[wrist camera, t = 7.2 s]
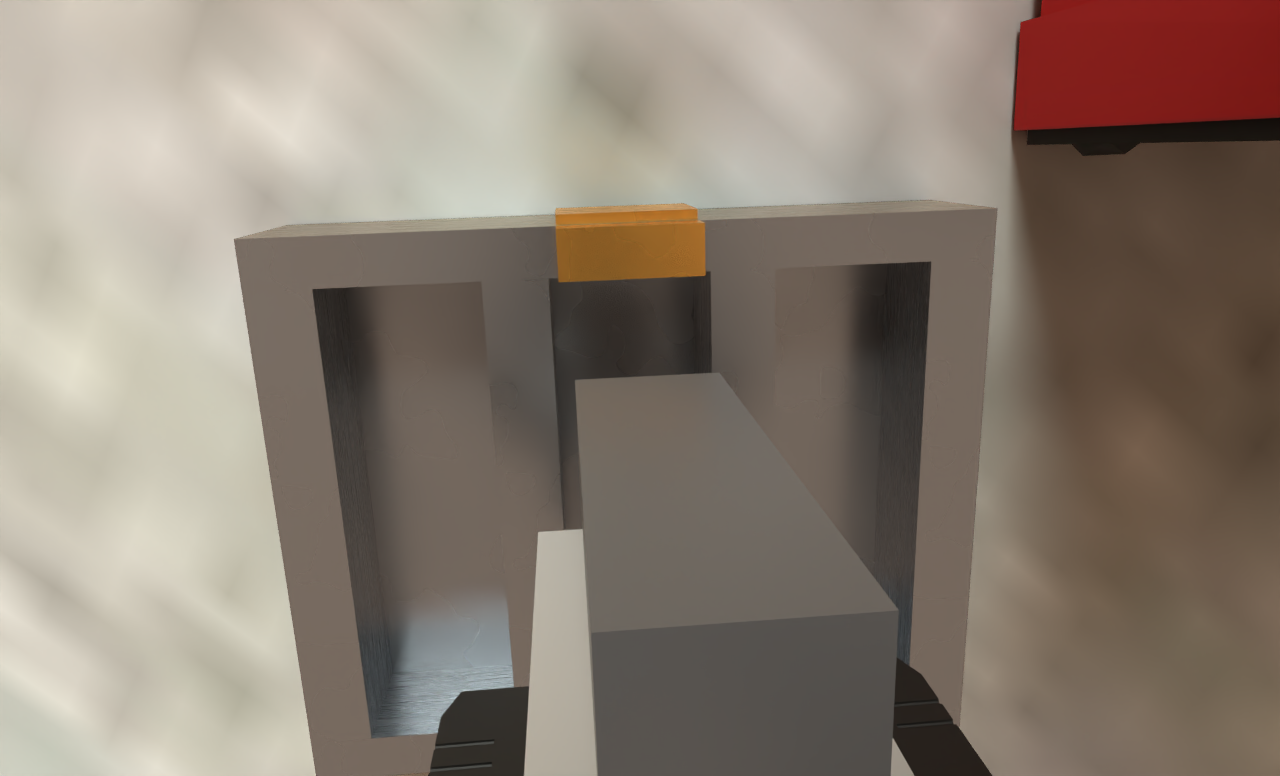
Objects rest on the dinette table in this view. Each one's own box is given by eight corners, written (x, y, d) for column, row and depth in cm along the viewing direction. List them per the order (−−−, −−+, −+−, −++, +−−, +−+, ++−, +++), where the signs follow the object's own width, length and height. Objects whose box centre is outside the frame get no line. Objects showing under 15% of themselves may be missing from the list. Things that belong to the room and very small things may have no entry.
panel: (574, 380, 14) (591, 633, 7) (719, 372, 15) (897, 611, 7) (595, 793, 16) (626, 1357, 9) (722, 782, 17) (863, 1324, 9)
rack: (285, 216, 19) (219, 230, 16) (930, 191, 21) (1013, 199, 17) (351, 694, 23) (309, 801, 19) (905, 649, 24) (971, 743, 20)
